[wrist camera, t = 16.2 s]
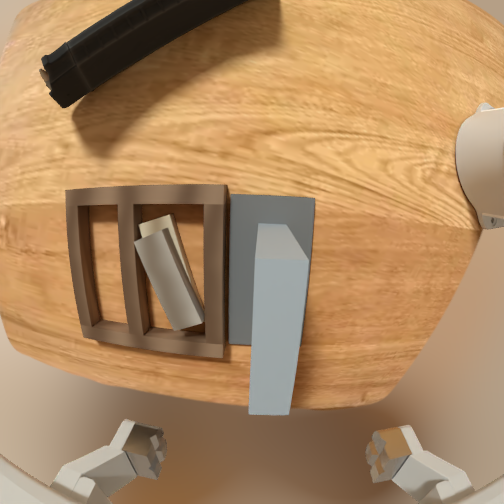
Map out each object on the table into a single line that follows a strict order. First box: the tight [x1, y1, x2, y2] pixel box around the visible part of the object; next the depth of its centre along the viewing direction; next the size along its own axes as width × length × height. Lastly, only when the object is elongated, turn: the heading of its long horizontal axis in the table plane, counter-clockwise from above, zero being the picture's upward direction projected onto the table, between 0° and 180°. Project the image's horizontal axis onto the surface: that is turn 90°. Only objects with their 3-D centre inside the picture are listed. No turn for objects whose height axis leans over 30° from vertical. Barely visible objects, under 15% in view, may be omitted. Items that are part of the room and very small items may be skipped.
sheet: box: [249, 223, 309, 415], centre depth 24 cm, size 3×12×15 cm, turn 178°
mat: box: [229, 194, 315, 346], centre depth 32 cm, size 9×18×1 cm, turn 178°
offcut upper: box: [134, 227, 205, 331], centre depth 30 cm, size 4×11×2 cm, turn 20°
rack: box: [66, 184, 227, 358], centre depth 31 cm, size 20×20×2 cm
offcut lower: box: [139, 214, 205, 322], centre depth 32 cm, size 4×13×2 cm, turn 15°
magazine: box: [39, 0, 248, 108], centre depth 21 cm, size 17×3×30 cm
